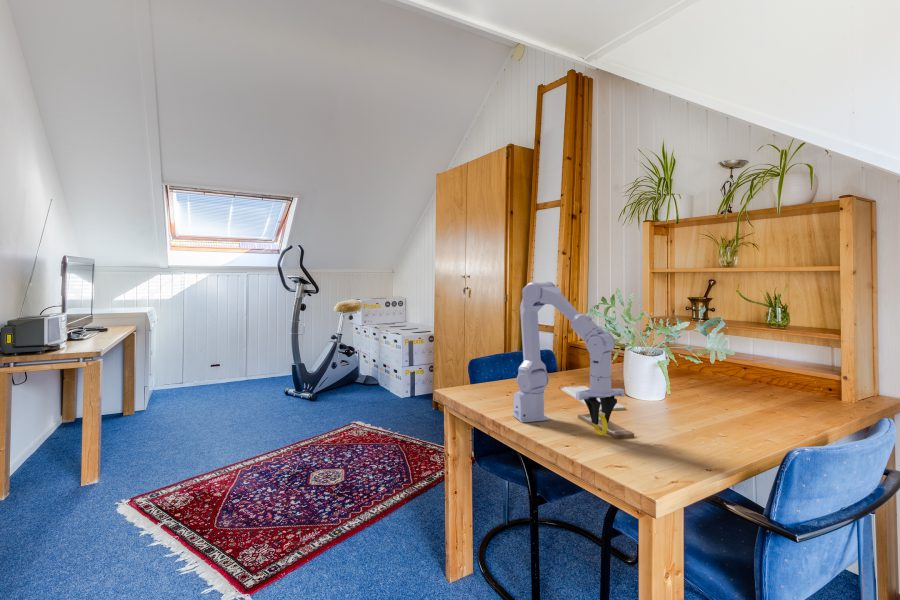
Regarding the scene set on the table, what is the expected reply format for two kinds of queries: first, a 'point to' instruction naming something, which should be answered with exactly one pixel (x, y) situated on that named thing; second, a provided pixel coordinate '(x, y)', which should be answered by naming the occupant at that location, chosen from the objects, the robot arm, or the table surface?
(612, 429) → the board
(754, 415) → the table surface
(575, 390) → the baseboard molding
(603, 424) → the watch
